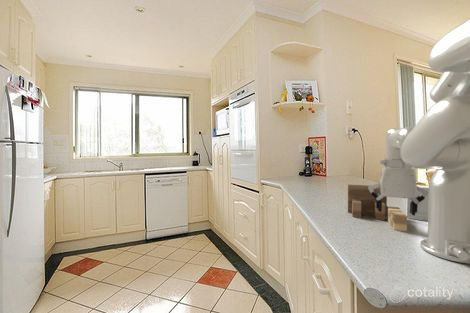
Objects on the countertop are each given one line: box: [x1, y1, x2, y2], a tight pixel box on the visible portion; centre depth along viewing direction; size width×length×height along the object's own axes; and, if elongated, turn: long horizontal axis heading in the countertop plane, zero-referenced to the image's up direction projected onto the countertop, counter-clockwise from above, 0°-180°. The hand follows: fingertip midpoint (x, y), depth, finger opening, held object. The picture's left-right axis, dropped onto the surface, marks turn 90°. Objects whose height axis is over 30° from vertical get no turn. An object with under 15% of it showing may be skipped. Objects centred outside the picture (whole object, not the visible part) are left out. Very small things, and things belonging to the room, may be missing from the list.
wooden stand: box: [347, 183, 388, 221], centre depth 91 cm, size 8×14×12 cm, turn 65°
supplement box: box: [405, 184, 429, 222], centre depth 88 cm, size 7×7×13 cm
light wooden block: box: [385, 205, 408, 232], centre depth 80 cm, size 12×4×5 cm, turn 155°
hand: (395, 212), depth 79 cm, fingers open, 9 cm apart
